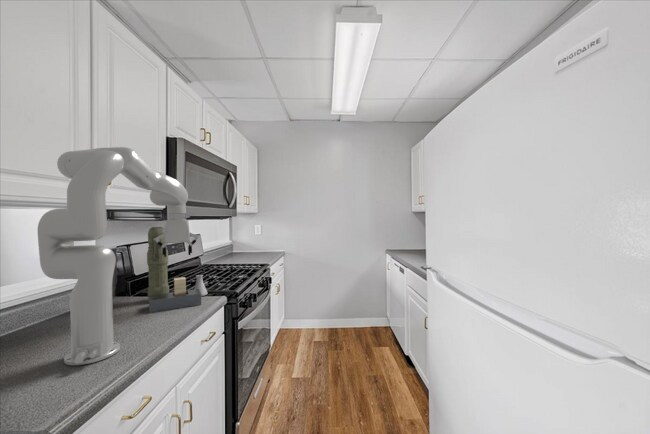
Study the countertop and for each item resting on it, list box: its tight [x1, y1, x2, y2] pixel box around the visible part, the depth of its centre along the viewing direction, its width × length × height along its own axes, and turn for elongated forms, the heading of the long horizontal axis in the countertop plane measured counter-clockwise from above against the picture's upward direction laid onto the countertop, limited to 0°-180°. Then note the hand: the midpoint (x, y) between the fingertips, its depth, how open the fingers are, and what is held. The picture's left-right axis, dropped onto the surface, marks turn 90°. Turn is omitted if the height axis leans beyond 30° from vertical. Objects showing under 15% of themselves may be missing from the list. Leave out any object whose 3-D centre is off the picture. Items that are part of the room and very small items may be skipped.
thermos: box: [146, 226, 170, 303], centre depth 139 cm, size 9×12×35 cm
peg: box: [173, 276, 187, 296], centre depth 130 cm, size 4×4×12 cm
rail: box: [148, 289, 202, 314], centre depth 129 cm, size 10×20×5 cm, turn 119°
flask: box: [193, 274, 208, 297], centre depth 145 cm, size 7×7×10 cm
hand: (177, 255), depth 129 cm, fingers open, 9 cm apart
